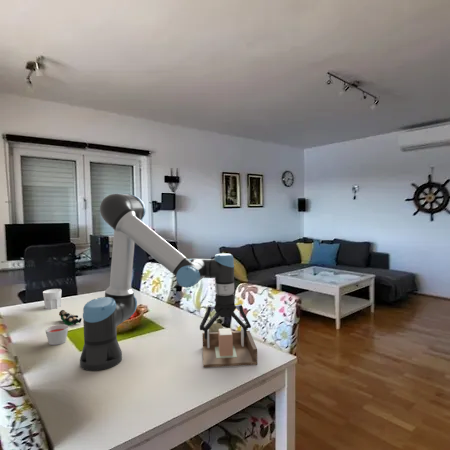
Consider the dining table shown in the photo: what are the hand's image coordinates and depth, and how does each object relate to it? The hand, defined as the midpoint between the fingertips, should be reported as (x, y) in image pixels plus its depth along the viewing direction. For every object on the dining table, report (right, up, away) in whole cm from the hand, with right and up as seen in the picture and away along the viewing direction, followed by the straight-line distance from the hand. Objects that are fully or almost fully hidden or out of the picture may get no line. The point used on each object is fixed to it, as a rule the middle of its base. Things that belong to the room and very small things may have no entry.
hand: (225, 346), depth 130 cm
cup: (-104, -2, +67) cm, 123 cm away
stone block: (-4, -3, +18) cm, 19 cm away
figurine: (-81, -3, +39) cm, 90 cm away
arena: (+1, -4, 0) cm, 4 cm away
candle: (-74, -4, +15) cm, 76 cm away
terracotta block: (0, -2, 0) cm, 2 cm away
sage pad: (0, -3, 0) cm, 2 cm away
